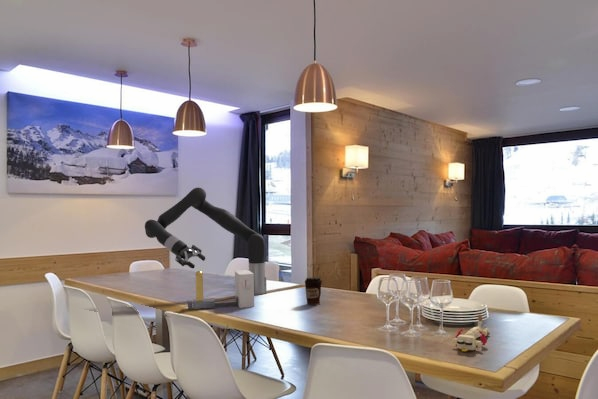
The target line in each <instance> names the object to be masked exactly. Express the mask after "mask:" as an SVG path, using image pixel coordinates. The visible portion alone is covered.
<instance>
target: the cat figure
mask: <svg viewBox="0 0 598 399" xmlns="http://www.w3.org/2000/svg"><path fill="white" fill-rule="evenodd" d="M477 319H478V323H477V326H474V327H472V328H470V329H469V330H468V331H467V332H466V333H464V334H463V333H462V332H463V331H464V329H465V330H466V327H464V328H461V329H460V330H458V331H457V333H456V335H455V336H454V337H455V338H453V339H452V340H451V342H452V343H454V344H455V345H456V347H457V348H458V349H460V350H461V352H468V351H475V350H476V351H477V350H478V349H479V348H480V347H483V346H485V345H486V344H487V343H488V339H487V338H486V337H488V336H490V332H489V330H488V329H489V328H485V327H484V328H483V327H482V325H483V316H482V314H478V315H477ZM477 338H480V340H477Z"/></svg>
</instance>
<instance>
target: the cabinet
mask: <svg viewBox="0 0 598 399" xmlns="http://www.w3.org/2000/svg"><path fill="white" fill-rule="evenodd" d="M234 289H235V291H234V292H235V293H234V294H235V298H234V299H235V300H234V301H237V302H238V307H239V308H240V309H243V308H244V307H245V308H254V307H255V295H254V274H253V273H252V272H250V271H249V269H248V270H234Z"/></svg>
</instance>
